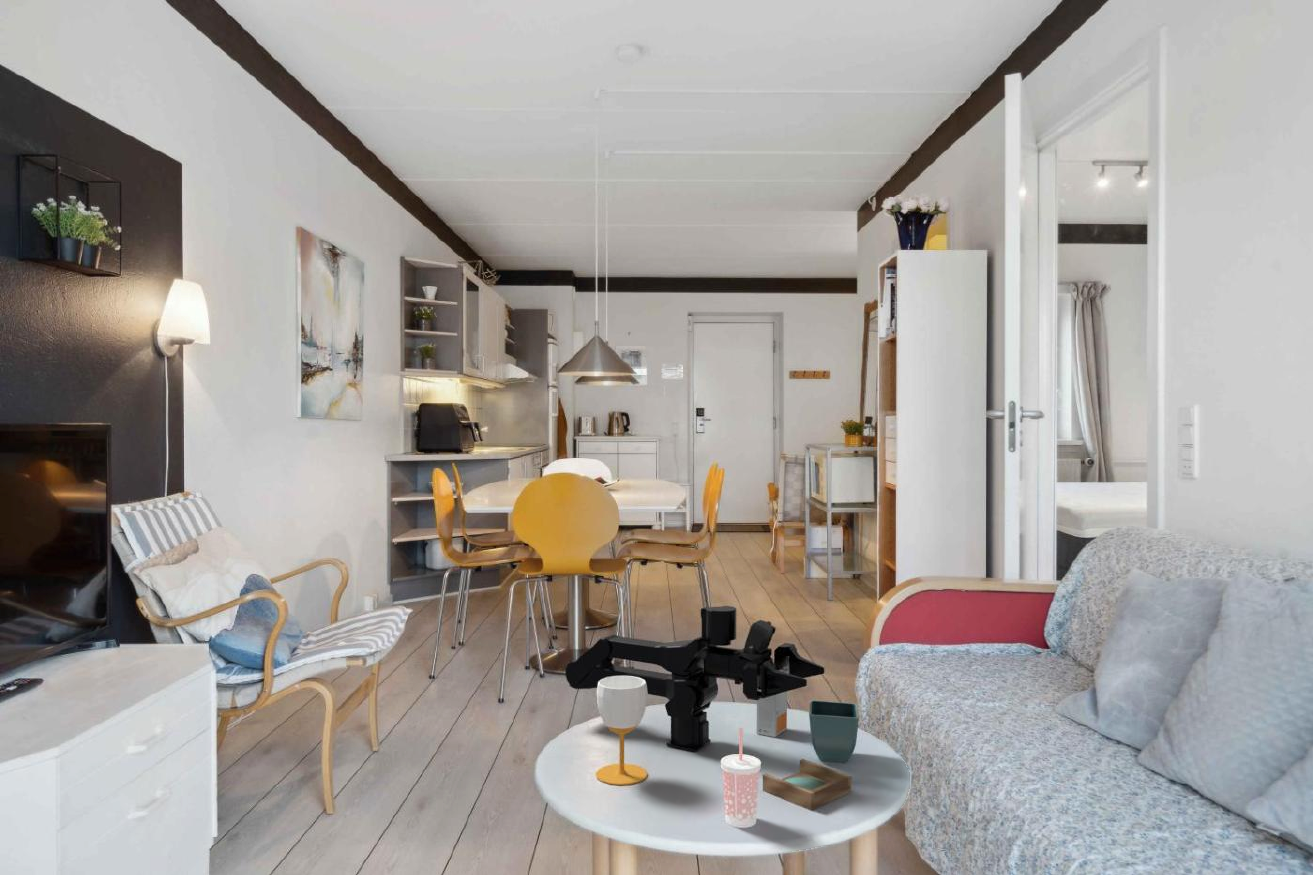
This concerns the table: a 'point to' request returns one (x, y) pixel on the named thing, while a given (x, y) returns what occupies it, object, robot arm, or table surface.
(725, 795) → the beverage cup
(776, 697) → the skincare box
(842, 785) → the wooden tray
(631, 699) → the cup
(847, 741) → the flower pot
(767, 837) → the table surface
